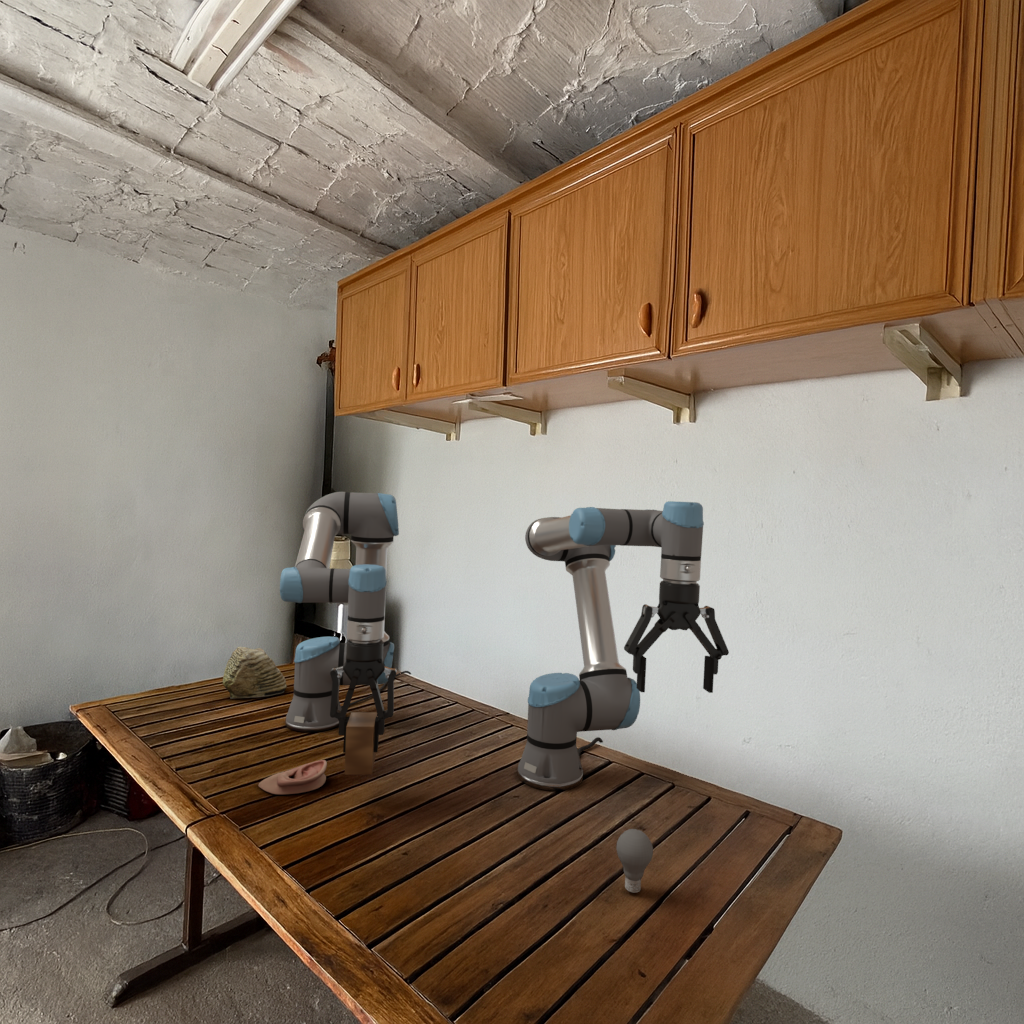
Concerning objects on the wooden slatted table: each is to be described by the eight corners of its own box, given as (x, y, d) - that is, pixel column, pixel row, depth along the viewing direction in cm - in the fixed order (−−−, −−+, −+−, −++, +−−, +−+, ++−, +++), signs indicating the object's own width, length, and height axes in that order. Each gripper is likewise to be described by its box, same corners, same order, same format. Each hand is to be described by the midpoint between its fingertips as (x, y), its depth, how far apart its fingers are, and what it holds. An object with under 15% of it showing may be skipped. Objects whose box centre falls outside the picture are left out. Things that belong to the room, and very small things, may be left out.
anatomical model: (250, 772, 134) (280, 751, 146) (249, 790, 135) (280, 768, 146) (307, 780, 132) (333, 759, 143) (306, 799, 132) (333, 776, 143)
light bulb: (610, 879, 108) (613, 822, 108) (644, 879, 109) (647, 822, 109) (619, 902, 102) (622, 840, 102) (655, 901, 103) (658, 840, 103)
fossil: (218, 695, 195) (220, 647, 195) (278, 685, 208) (279, 640, 207) (228, 703, 189) (230, 653, 188) (289, 692, 201) (290, 645, 201)
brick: (344, 774, 128) (346, 726, 128) (349, 757, 136) (351, 712, 136) (371, 774, 129) (373, 726, 128) (375, 757, 137) (377, 712, 137)
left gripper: (316, 643, 127) (312, 757, 127) (409, 644, 129) (405, 756, 130) (322, 634, 134) (318, 743, 135) (410, 636, 137) (406, 742, 137)
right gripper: (622, 582, 117) (617, 696, 117) (750, 585, 120) (744, 696, 121) (611, 577, 125) (606, 684, 125) (731, 580, 128) (726, 685, 128)
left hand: (360, 749), depth 132 cm, fingers closed on brick, 5 cm apart
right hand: (674, 690), depth 123 cm, fingers open, 13 cm apart
